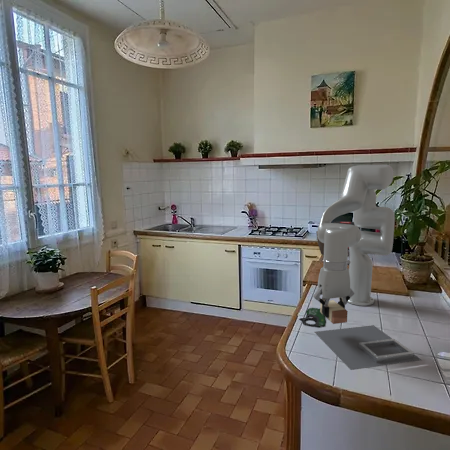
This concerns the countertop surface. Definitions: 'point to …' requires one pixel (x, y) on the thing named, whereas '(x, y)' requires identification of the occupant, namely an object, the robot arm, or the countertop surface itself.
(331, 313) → the maple block
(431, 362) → the countertop surface
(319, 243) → the plant pot
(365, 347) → the metal frame
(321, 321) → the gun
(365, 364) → the rubber mat
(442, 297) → the countertop surface
